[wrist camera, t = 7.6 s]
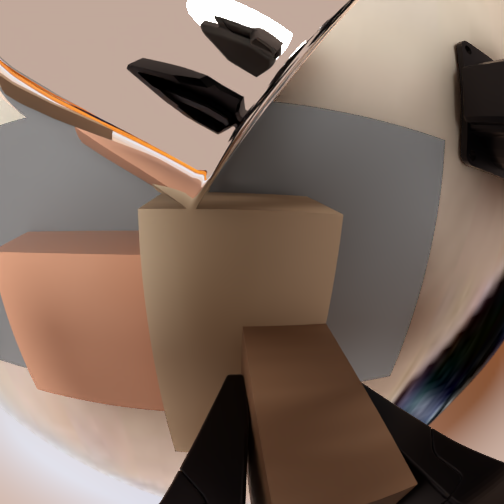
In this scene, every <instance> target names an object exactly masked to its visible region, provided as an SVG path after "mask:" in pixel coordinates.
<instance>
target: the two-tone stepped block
mask: <svg viewBox="0 0 504 504" xmlns="http://www.w3.org/2000/svg"><path fill="white" fill-rule="evenodd" d="M342 222H343V214H341V213H339V212H337V211H335V210H333V209H331V208H329V207H327V206H325V205H323V204H321V203H319V202H317V201H315V200H313V199H311V198H309V197H307V196H294V195H276V194H253V193H220V192H208V193H207V194H206V196H205V197H204V199H203V200H202V202H201V203H200V204H199V206H198V207H197V208H196V210H194V211H189V210H187V208H185V207H184V206H183V205H181V204H179V203H178V202H176V201H174V200H173V199H171V198H169V197H167V196H165V195H163V194H160V195H158V196H157V197H155V198H154V199H152V200H151V201H149V202H148V203H146V204H145V205H143V206H142V207H140V208H139V209H138V224H139V242H140V256H141V268H142V279H143V289H144V298H145V306H146V313H147V321H148V328H149V334H150V341H151V347H152V352H153V358H154V364H155V369H156V374H157V379H158V384H159V389H160V393H161V398H162V402H163V406H164V411H165V415H166V419H167V423H168V427H169V430H170V434H171V438H172V441H173V445H174V448H175V451H181V452H189V450H190V448H191V446H192V444H193V442H194V440H195V438H196V436H197V434H198V433H199V431H200V429H201V427H202V425H203V423H204V421H205V419H206V417H207V415H208V413H209V411H210V409H211V407H212V405H213V403H214V401H215V399H216V397H217V395H218V393H219V390H220V388H221V386H222V384H223V382H224V380H225V378H226V376H227V375H229V374H242V375H243V377H244V383H245V388H246V394H247V399H248V405H249V430H248V454H247V478H248V485H249V493H250V500H251V504H396V503H397V502H398V501H399V500H401V499H402V498H403V497H404V496H405V495H406V494H407V493H408V492H410V491H411V490H412V489H413V488H414V487H415V486H416V485H417V484H418V483H417V482H416V480H415V478H414V476H413V474H412V472H411V470H410V468H409V467H408V465H407V463H406V461H405V459H404V457H403V456H402V454H401V452H400V450H399V448H398V447H397V445H396V443H395V441H394V439H393V437H392V436H391V434H390V432H389V430H388V429H387V427H386V425H385V423H384V421H383V420H382V418H381V416H380V414H379V413H378V411H377V409H376V407H375V406H374V404H373V402H372V400H371V399H370V397H369V395H368V393H367V392H366V390H365V388H364V387H363V385H362V383H361V381H360V380H359V378H358V376H357V375H356V373H355V371H354V369H353V368H352V366H351V364H350V363H349V361H348V359H347V358H346V356H345V354H344V353H343V351H342V349H341V347H340V346H339V344H338V342H337V341H336V339H335V337H334V336H333V334H332V333H331V331H330V329H329V328H328V326H327V324H326V321H327V316H328V311H329V306H330V300H331V295H332V289H333V283H334V277H335V271H336V265H337V258H338V252H339V245H340V238H341V230H342Z"/></svg>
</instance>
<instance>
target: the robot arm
mask: <svg viewBox="0 0 504 504" xmlns="http://www.w3.org/2000/svg"><path fill="white" fill-rule="evenodd" d="M457 54H458V62H459V72H460V85H461V108H462V131H461V158H462V161H463V163H464V164H466V165H468V166H471V167H473V168H476V169H479V170H482V171H484V172H487V173H489V174H492V175H494V176H497V177H499V178H502V179H504V59H502V60H496V61H493V60H492V59H491V58H489V57H488V56H487V55H485V54H484V53H483V52H481V51H480V50H478V49H477V48H475V47H474V46H473V45H471V44H470V43H468V42H466V41H462V42H459V43H457ZM362 385H363V387H364V388H365V390H366V392H367V393H368V395H369V397H370V399H371V400H372V402H373V404H374V406H375V407H376V409H377V411H378V413H379V414H380V416H381V418H382V420H383V421H384V423H385V425H386V427H387V429H388V430H389V432H390V434H391V436H392V437H393V439H394V441H395V443H396V445H397V447H398V448H399V450H400V452H401V454H402V456H403V457H404V459H405V461H406V463H407V465H408V467H409V468H410V470H411V472H412V474H413V476H414V478H415V480H416V482H417V483H418V484H417V485H416V486H415V487H414V488H413V489H412V490H411V491H410V492H408V493H407V494H406V495H405V496H404V497H403V498H402V499H401V500H399V501H398V502H397V503H396V504H504V462H501V461H499V460H496V459H494V458H491V457H489V456H486V455H484V454H481V453H479V452H477V451H474V450H472V449H470V448H468V447H466V446H463V445H461V444H459V443H457V442H455V441H453V440H452V439H450V438H448V437H446V436H445V435H443V434H441V433H439V432H438V431H436V430H435V429H431V427H429V426H428V425H426V424H425V423H423V422H421V421H420V420H418V419H417V418H415V417H413V416H412V415H410V414H409V413H407V412H405V411H404V410H402V409H401V408H399V407H398V406H396V405H395V404H393V403H391V402H390V401H388V400H387V399H385V398H384V397H382V396H381V395H379V394H378V393H376V392H375V391H373V390H372V389H370V388H369V387H367V386H366V385H364V384H363V383H362ZM248 430H249V405H248V399H247V394H246V388H245V383H244V377H243V375H242V374H229V375H227V376H226V378H225V380H224V382H223V384H222V386H221V388H220V390H219V393H218V395H217V397H216V399H215V401H214V403H213V405H212V407H211V409H210V411H209V413H208V415H207V417H206V419H205V421H204V423H203V425H202V427H201V429H200V431H199V433H198V434H197V436H196V438H195V440H194V442H193V444H192V446H191V448H190V450H189V452H188V454H187V456H186V458H185V460H184V462H183V463H182V465H181V467H180V471H178V473H177V474H176V476H175V478H174V480H173V482H172V484H171V485H170V487H169V489H168V490H167V492H166V494H165V495H164V497H163V499H162V500H161V502H160V503H159V504H245V501H246V478H247V454H248Z"/></svg>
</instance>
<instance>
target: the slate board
mask: <svg viewBox="0 0 504 504" xmlns="http://www.w3.org/2000/svg"><path fill="white" fill-rule="evenodd" d="M444 148H445V140H442V139H440V138H437V137H434V136H431V135H428V134H425V133H422V132H419V131H415V130H412V129H409V128H405V127H402V126H398V125H395V124H391V123H388V122H384V121H380V120H376V119H372V118H367V117H363V116H359V115H354V114H349V113H344V112H339V111H334V110H329V109H323V108H317V107H311V106H304V105H297V104H289V103H281V102H272V104H271V105H270V106H269V108H268V109H267V110H266V111H265V113H264V114H263V115H262V117H261V118H260V119H259V121H258V122H257V123H256V125H255V126H254V128H253V129H252V130H251V132H250V133H249V134H248V136H247V137H246V138H245V140H244V141H243V143H242V144H241V145H240V147H239V148H238V150H237V151H236V152H235V154H234V155H233V157H232V158H231V159H230V161H229V162H228V164H227V165H226V167H225V168H224V169H223V171H222V172H221V174H220V175H219V177H218V178H217V180H216V181H215V182H214V184H213V185H212V187H211V188H210V190H209V191H208V192H220V193H253V194H276V195H294V196H307V197H309V198H311V199H313V200H315V201H317V202H319V203H321V204H323V205H325V206H327V207H329V208H331V209H333V210H335V211H337V212H339V213H341V214H343V222H342V230H341V238H340V245H339V252H338V258H337V265H336V271H335V277H334V283H333V289H332V295H331V300H330V306H329V311H328V316H327V321H326V324H327V326H328V328H329V329H330V331H331V333H332V334H333V336H334V337H335V339H336V341H337V342H338V344H339V346H340V347H341V349H342V351H343V353H344V354H345V356H346V358H347V359H348V361H349V363H350V364H351V366H352V368H353V369H354V371H355V373H356V375H357V376H358V378H359V380H360V381H366V380H372V379H377V378H382V377H387V376H390V375H391V372H392V370H393V368H394V365H395V363H396V360H397V358H398V355H399V353H400V350H401V347H402V345H403V342H404V339H405V337H406V334H407V331H408V328H409V325H410V322H411V319H412V316H413V313H414V310H415V307H416V304H417V300H418V297H419V293H420V290H421V286H422V283H423V279H424V275H425V271H426V267H427V263H428V259H429V254H430V250H431V245H432V240H433V235H434V230H435V225H436V219H437V213H438V206H439V199H440V192H441V183H442V174H443V163H444ZM160 194H162V193H160V192H158V191H156V190H154V189H152V188H150V187H149V186H147V185H145V184H143V183H141V182H139V181H137V180H135V179H133V178H131V177H129V176H127V175H125V174H123V173H121V172H119V171H117V170H115V169H113V168H111V167H109V166H107V165H106V164H104V163H102V162H100V161H98V160H96V159H94V158H92V157H90V156H89V155H87V154H85V153H83V152H81V151H79V150H77V149H75V148H74V147H72V146H70V145H69V144H67V143H65V142H64V141H62V140H60V139H59V138H57V137H55V136H54V135H52V134H51V133H49V132H47V131H46V130H44V129H42V128H41V127H39V126H37V125H36V124H35V123H33V122H32V121H31V120H29V119H28V118H23V119H20V120H16V121H12V122H9V123H6V124H2V125H0V246H2V245H4V244H6V243H7V242H9V241H11V240H13V239H15V238H17V237H19V236H21V235H23V234H25V233H27V232H39V231H139V224H138V209H139V208H140V207H142V206H143V205H145V204H146V203H148V202H149V201H151V200H152V199H154V198H155V197H157V196H158V195H160ZM0 360H2V361H5V362H9V363H12V364H15V365H18V366H22V367H25V368H27V366H26V364H25V361H24V359H23V357H22V354H21V352H20V350H19V347H18V345H17V342H16V339H15V337H14V334H13V331H12V329H11V326H10V323H9V320H8V317H7V314H6V311H5V307H4V304H3V301H2V297H1V294H0Z"/></svg>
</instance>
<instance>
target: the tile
mask: <svg viewBox="0 0 504 504" xmlns="http://www.w3.org/2000/svg"><path fill="white" fill-rule="evenodd" d="M0 294H1V297H2V301H3V304H4V307H5V311H6V314H7V317H8V320H9V323H10V326H11V329H12V331H13V334H14V337H15V339H16V342H17V345H18V347H19V350H20V352H21V354H22V357H23V359H24V361H25V364H26V366H27V368H28V370H29V373H30V375H31V377H32V379H33V381H34V383H35V385H36V387H37V389H39V390H43V391H46V392H50V393H54V394H58V395H62V396H67V397H71V398H76V399H81V400H86V401H91V402H97V403H102V404H109V405H115V406H122V407H130V408H139V409H148V410H159V411H164V406H163V402H162V398H161V393H160V389H159V384H158V379H157V374H156V369H155V364H154V358H153V352H152V347H151V341H150V334H149V328H148V321H147V313H146V306H145V298H144V289H143V279H142V268H141V256H140V242H139V231H39V232H27V233H25V234H23V235H21V236H19V237H17V238H15V239H13V240H11V241H9V242H7V243H6V244H4V245H2V246H0Z"/></svg>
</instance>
